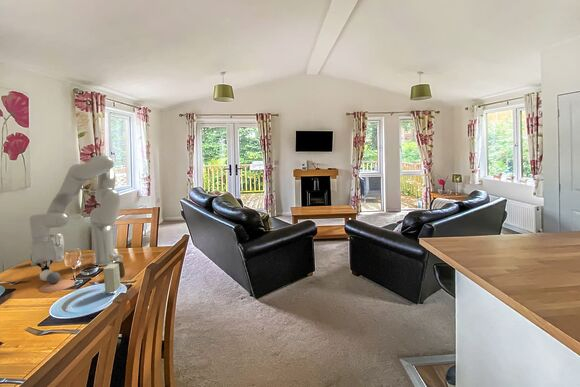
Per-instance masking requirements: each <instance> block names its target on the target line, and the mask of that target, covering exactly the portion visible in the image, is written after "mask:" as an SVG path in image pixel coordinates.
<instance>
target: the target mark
mask: <svg viewBox="0 0 580 387" xmlns="http://www.w3.org/2000/svg"><path fill="white" fill-rule="evenodd" d="M75 284H76V280H73V279H60V281H59V282H57V283H55V284H50V283H48V282H47V283H46V284H44V285H41V286H40V287H39V289H38V290H39V292H41V293H55V292H59V291H63V290H66V289H69V288H71V287H73V286H74V285H75Z"/></svg>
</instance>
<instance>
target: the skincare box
mask: <svg viewBox="0 0 580 387" xmlns="http://www.w3.org/2000/svg"><path fill="white" fill-rule="evenodd" d="M103 279H104V291H105V293H104V294H106V293H110V292H114V291H116V290H117V289H118V288H119V287H120V286H121V287H122V285H121V278H120V272H119V263H118V264H108V265H105V266H104V267H103Z"/></svg>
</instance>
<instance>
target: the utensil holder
mask: <svg viewBox="0 0 580 387" xmlns="http://www.w3.org/2000/svg"><path fill="white" fill-rule="evenodd" d="M109 256H110V259H111V260H112V264H118V263H119V272H120V279H121V278H124V277H125V276H126V272H125V271H126V269H125V266H124V262H123V260H124V259H123V258H124V255H123V256H121V258H120V257H119V258H118V261H117V262H115V263H113V258H112V256H111V254H110V255H109ZM122 257H123V258H122Z"/></svg>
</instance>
